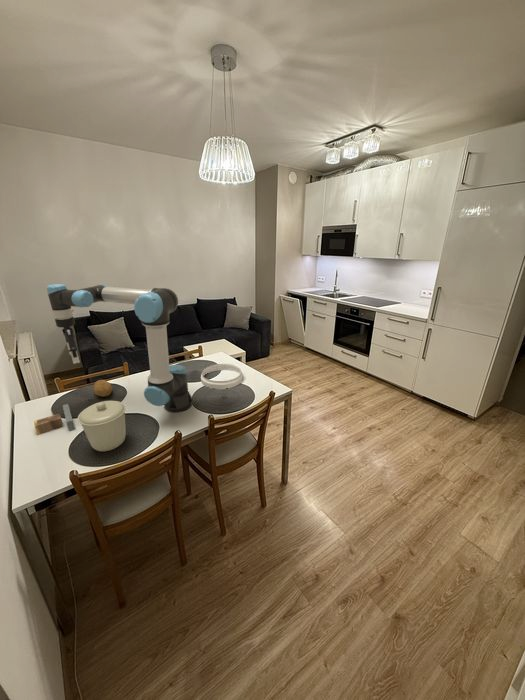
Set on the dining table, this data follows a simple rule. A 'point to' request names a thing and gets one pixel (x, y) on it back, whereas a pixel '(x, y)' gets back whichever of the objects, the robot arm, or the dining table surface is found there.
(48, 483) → the dining table surface
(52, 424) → the block
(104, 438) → the canister
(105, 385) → the potato
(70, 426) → the grey bar
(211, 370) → the white flat ring
